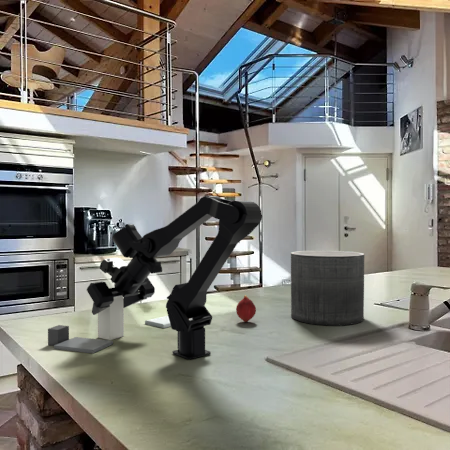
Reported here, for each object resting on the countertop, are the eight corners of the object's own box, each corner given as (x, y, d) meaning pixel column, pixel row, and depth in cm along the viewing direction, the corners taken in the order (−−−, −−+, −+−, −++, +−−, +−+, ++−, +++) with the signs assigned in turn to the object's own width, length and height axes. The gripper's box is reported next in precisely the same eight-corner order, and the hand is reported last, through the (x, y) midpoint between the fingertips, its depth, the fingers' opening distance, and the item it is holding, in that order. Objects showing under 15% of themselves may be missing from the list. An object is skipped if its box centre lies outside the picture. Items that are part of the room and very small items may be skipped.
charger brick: (123, 336, 119) (123, 290, 119) (110, 340, 115) (109, 293, 115) (111, 333, 122) (111, 289, 122) (98, 337, 118) (97, 291, 118)
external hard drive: (144, 325, 133) (175, 318, 142) (163, 330, 128) (194, 322, 137) (144, 320, 133) (175, 313, 142) (163, 324, 128) (194, 316, 137)
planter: (306, 328, 128) (306, 257, 127) (281, 312, 149) (281, 251, 149) (378, 324, 132) (378, 255, 132) (343, 309, 154) (343, 250, 153)
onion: (259, 322, 135) (259, 295, 135) (247, 325, 131) (247, 297, 131) (244, 319, 139) (244, 293, 139) (232, 322, 135) (232, 295, 135)
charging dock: (112, 344, 112) (112, 327, 112) (93, 353, 104) (93, 335, 104) (64, 338, 116) (64, 323, 116) (42, 347, 109) (42, 330, 109)
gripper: (147, 245, 124) (119, 282, 130) (91, 249, 108) (63, 291, 115) (168, 276, 119) (138, 313, 126) (114, 285, 104) (83, 327, 110)
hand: (107, 310), depth 119 cm, fingers open, 9 cm apart
